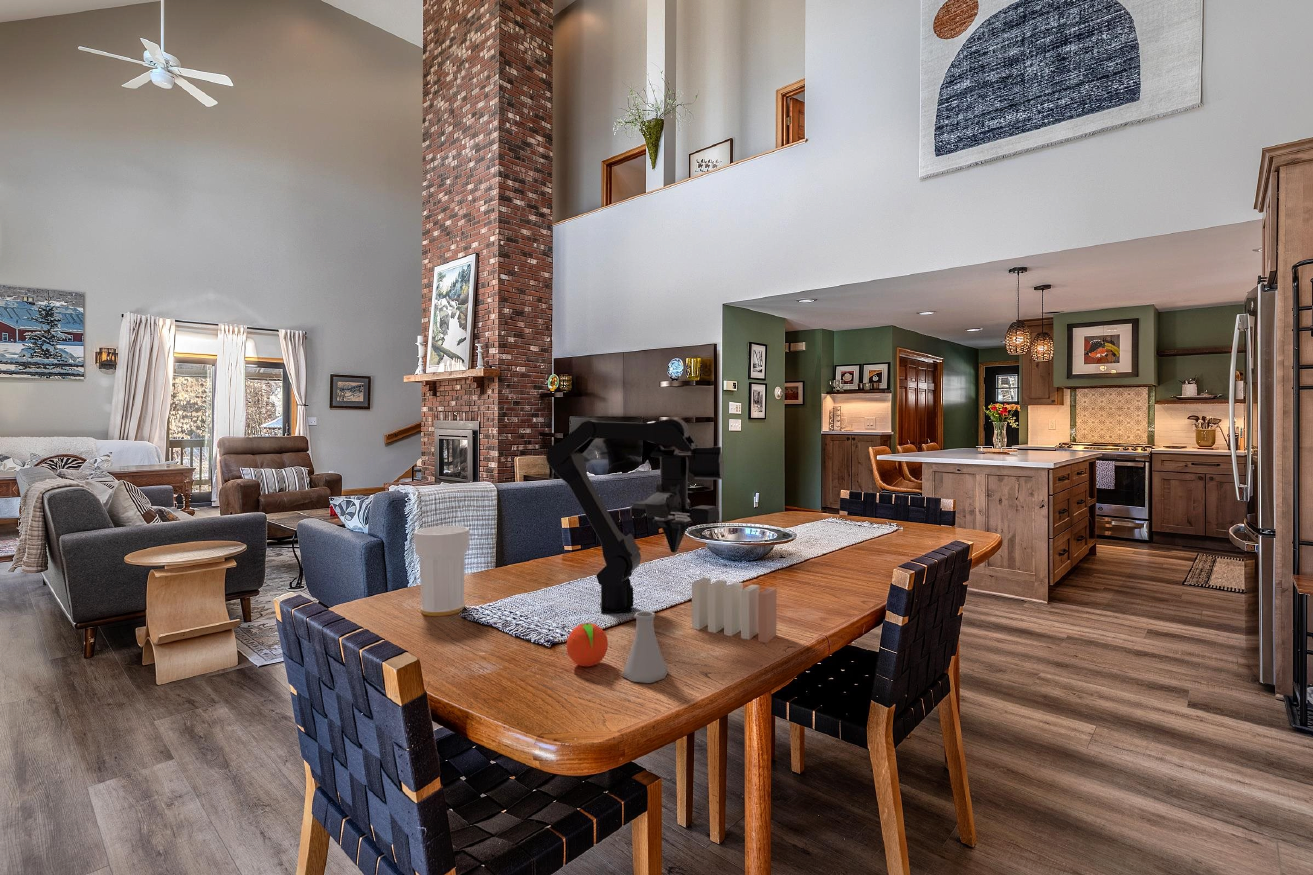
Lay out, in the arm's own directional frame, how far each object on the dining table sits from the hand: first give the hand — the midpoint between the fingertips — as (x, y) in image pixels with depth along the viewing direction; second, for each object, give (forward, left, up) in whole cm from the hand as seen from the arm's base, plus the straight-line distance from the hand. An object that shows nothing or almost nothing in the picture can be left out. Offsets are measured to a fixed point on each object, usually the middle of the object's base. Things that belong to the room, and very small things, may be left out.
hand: (674, 552), depth 134 cm
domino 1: (+4, -8, -13) cm, 16 cm away
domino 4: (+12, -15, -13) cm, 23 cm away
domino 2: (+7, -11, -13) cm, 18 cm away
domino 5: (+15, -17, -13) cm, 26 cm away
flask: (-10, -31, -13) cm, 35 cm away
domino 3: (+9, -13, -13) cm, 21 cm away
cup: (-49, +10, -13) cm, 52 cm away
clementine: (-19, -26, -13) cm, 35 cm away
